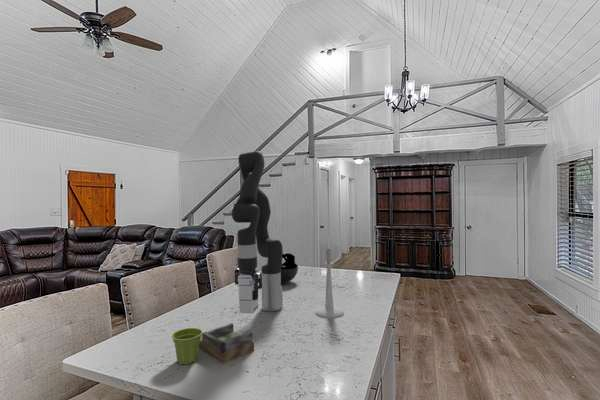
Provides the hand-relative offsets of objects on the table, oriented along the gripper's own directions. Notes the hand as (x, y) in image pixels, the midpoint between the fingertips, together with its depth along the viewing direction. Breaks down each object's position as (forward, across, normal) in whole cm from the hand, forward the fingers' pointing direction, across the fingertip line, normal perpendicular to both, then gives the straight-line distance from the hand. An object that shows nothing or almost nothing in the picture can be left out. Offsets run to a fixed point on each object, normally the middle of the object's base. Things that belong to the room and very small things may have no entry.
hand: (248, 297), depth 123 cm
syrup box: (+5, 0, 0) cm, 5 cm away
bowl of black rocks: (+15, +45, -63) cm, 79 cm away
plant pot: (+14, -1, +26) cm, 30 cm away
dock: (+14, -2, +14) cm, 19 cm away
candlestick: (+15, -10, -38) cm, 42 cm away
